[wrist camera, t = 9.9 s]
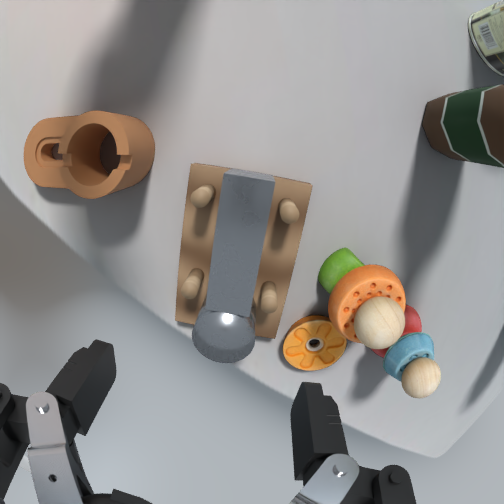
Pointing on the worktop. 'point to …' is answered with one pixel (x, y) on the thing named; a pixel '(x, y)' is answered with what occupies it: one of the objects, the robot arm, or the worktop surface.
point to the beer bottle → (468, 125)
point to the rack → (273, 254)
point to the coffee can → (489, 35)
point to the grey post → (234, 267)
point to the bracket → (88, 153)
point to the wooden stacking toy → (365, 325)
